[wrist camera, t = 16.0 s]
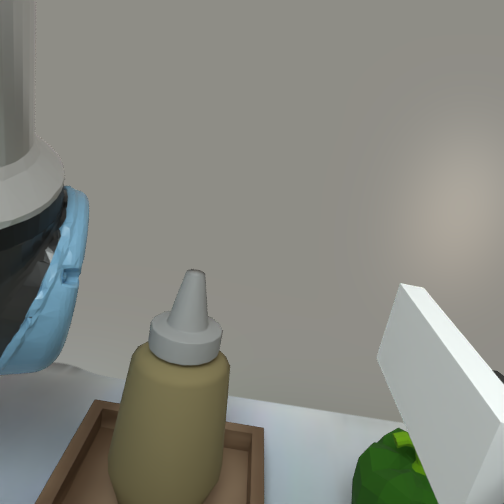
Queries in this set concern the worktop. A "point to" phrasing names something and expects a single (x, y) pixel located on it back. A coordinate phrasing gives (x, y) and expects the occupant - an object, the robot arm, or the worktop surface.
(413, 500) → the bell pepper
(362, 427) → the worktop surface
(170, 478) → the squeeze bottle
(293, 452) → the worktop surface
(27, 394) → the worktop surface
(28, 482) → the worktop surface
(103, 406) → the walnut tray
